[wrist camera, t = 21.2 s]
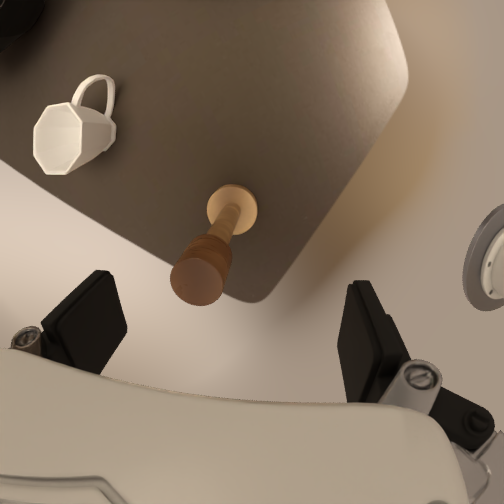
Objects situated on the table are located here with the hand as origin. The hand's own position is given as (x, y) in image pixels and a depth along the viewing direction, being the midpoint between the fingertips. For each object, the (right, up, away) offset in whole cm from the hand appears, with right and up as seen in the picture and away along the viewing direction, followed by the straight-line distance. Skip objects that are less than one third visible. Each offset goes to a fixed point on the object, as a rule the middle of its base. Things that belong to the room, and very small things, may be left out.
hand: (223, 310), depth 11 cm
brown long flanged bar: (-1, +7, +18) cm, 20 cm away
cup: (-15, +17, +15) cm, 27 cm away
